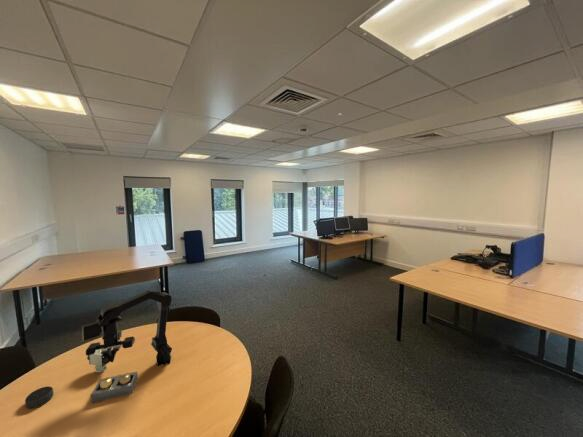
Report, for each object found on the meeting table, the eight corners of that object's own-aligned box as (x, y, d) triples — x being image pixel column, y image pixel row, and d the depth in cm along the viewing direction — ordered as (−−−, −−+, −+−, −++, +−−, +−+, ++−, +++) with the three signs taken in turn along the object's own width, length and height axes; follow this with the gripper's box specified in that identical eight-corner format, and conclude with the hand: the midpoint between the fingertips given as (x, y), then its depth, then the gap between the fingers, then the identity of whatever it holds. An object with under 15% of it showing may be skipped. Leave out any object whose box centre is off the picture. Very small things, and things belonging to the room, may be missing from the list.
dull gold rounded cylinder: (132, 383, 121) (131, 372, 120) (129, 389, 117) (129, 378, 116) (121, 385, 119) (121, 374, 119) (119, 392, 115) (118, 380, 115)
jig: (137, 378, 124) (137, 371, 124) (132, 393, 115) (131, 385, 114) (100, 387, 118) (99, 379, 118) (91, 403, 109) (90, 395, 109)
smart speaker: (31, 398, 112) (30, 390, 112) (56, 390, 117) (55, 382, 116) (21, 412, 105) (20, 404, 104) (49, 404, 109) (48, 395, 109)
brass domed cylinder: (113, 387, 118) (112, 376, 118) (110, 394, 114) (109, 382, 113) (103, 390, 117) (102, 378, 116) (99, 397, 112) (98, 385, 112)
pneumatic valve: (105, 375, 126) (104, 353, 125) (87, 372, 129) (86, 351, 128) (115, 368, 132) (114, 347, 131) (98, 365, 134) (96, 344, 133)
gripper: (136, 320, 128) (138, 348, 129) (94, 326, 122) (96, 355, 123) (130, 331, 118) (132, 361, 119) (83, 338, 111) (86, 370, 112)
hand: (112, 361), depth 119 cm, fingers closed
